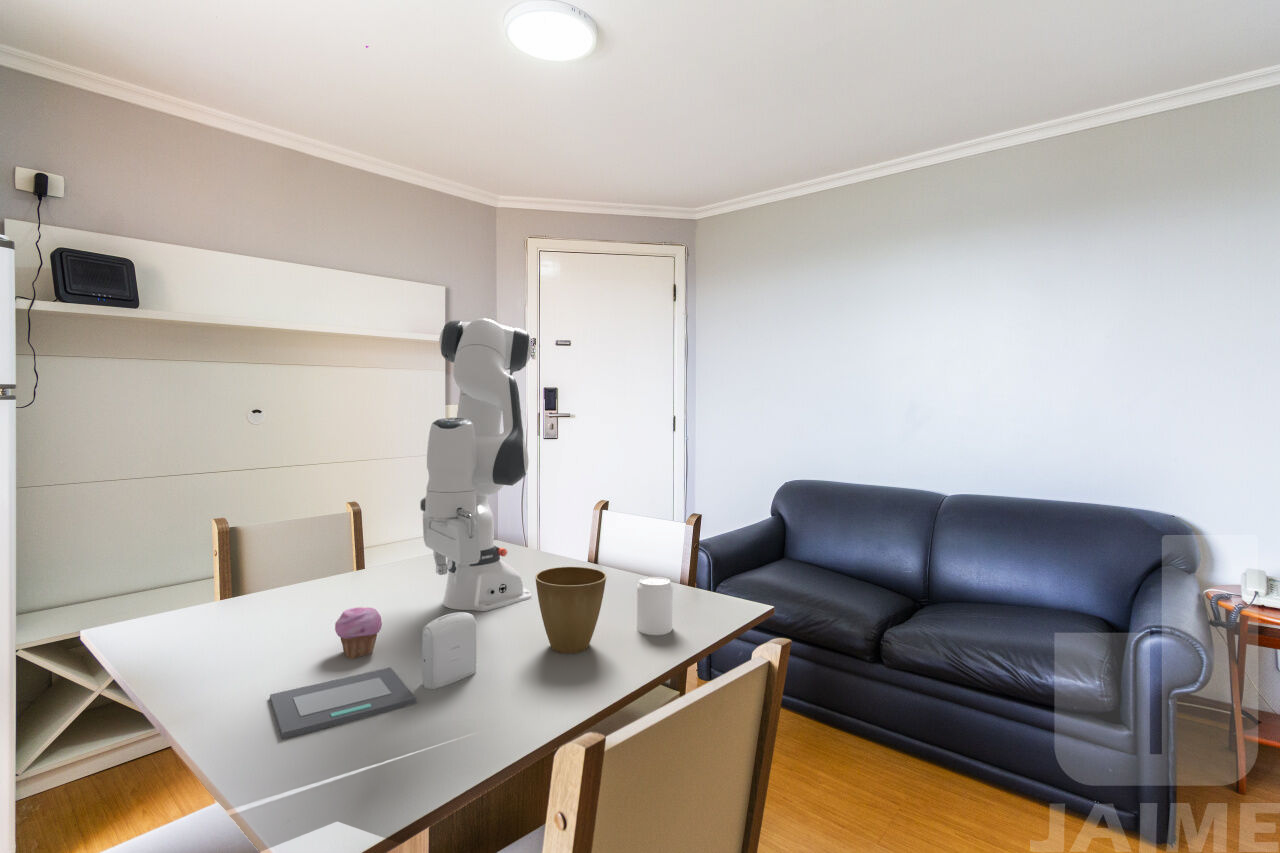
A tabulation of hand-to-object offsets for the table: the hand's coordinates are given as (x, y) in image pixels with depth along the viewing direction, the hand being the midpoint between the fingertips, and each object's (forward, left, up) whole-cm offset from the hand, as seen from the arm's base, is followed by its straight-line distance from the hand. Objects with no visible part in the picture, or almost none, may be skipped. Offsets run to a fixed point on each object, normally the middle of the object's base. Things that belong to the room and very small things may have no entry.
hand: (450, 579), depth 116 cm
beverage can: (-47, +2, -19) cm, 51 cm away
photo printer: (0, 0, -19) cm, 19 cm away
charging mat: (+18, -2, -19) cm, 26 cm away
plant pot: (-26, 0, -19) cm, 32 cm away
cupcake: (+11, -22, -19) cm, 31 cm away
